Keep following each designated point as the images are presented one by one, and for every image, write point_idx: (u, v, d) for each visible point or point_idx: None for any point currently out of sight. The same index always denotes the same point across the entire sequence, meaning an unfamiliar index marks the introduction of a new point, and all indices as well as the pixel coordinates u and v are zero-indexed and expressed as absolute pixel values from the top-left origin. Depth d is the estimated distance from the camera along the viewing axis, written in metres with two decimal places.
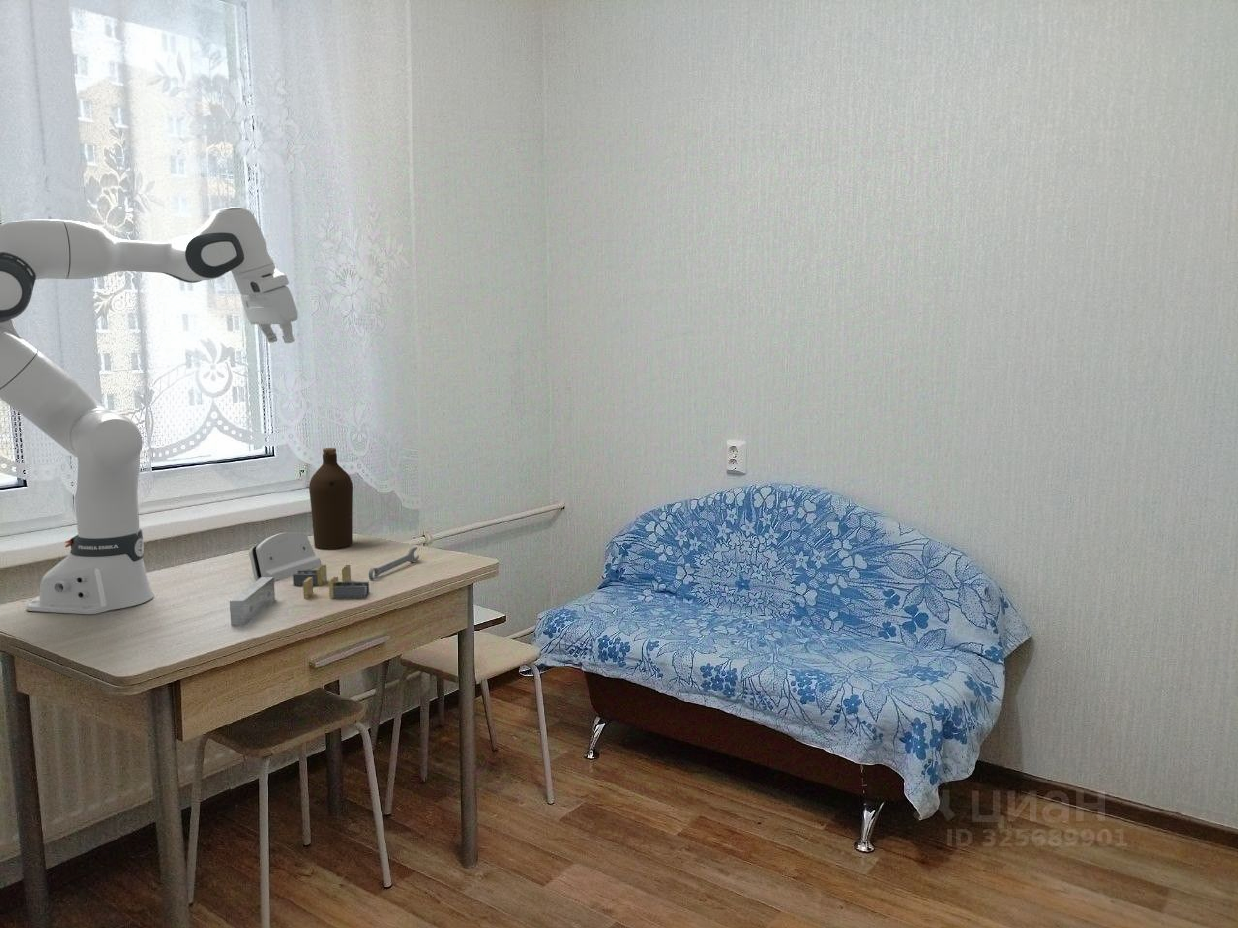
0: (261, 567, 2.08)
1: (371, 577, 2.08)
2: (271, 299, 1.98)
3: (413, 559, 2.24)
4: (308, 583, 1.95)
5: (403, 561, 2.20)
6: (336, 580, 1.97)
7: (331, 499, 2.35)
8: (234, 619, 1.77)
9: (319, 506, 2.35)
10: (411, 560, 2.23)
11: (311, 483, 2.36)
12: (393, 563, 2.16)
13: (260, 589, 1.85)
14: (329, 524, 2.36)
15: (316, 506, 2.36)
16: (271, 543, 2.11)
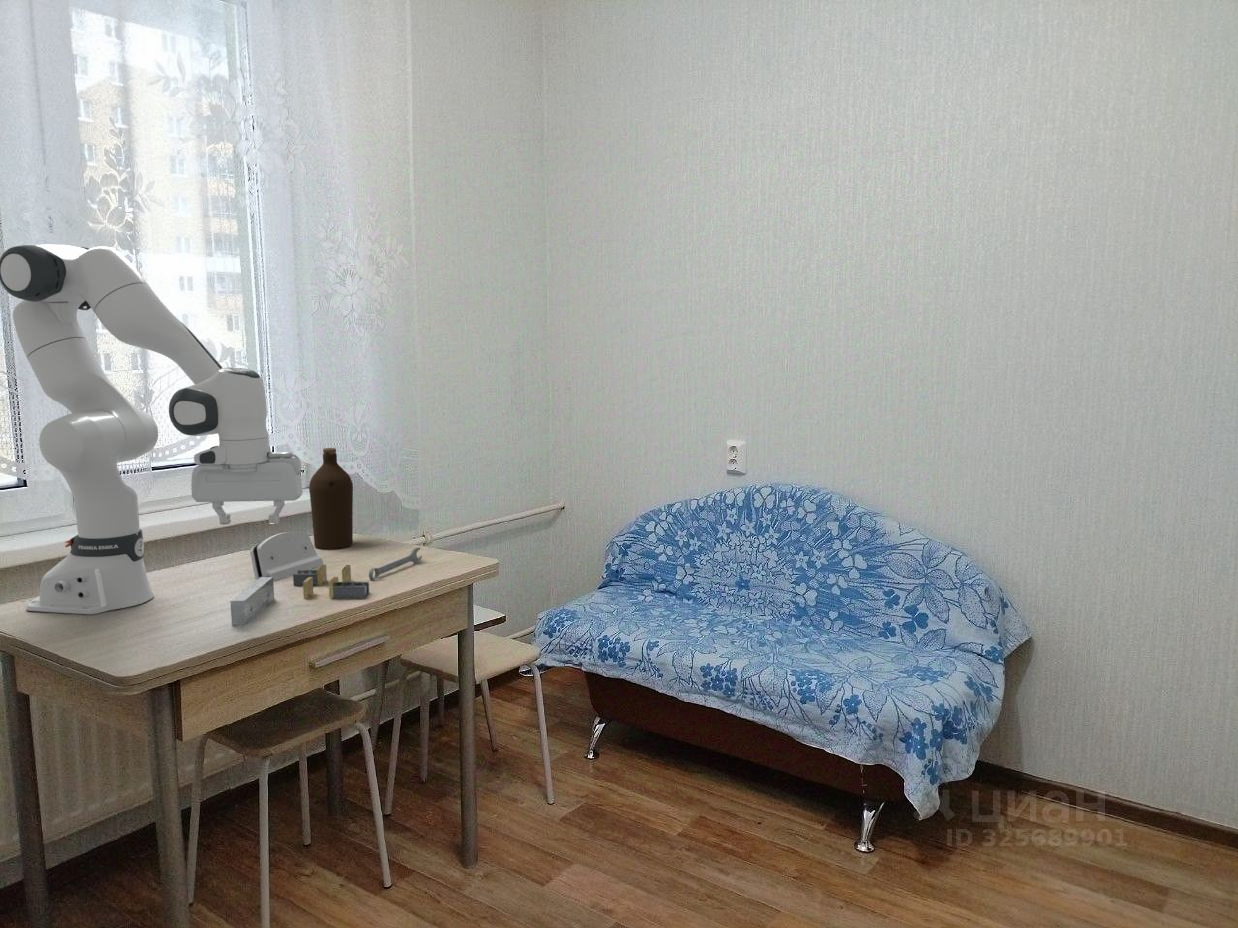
0: (262, 567, 2.08)
1: (371, 577, 2.08)
2: None
3: (416, 559, 2.24)
4: (308, 583, 1.95)
5: (405, 561, 2.20)
6: (336, 580, 1.97)
7: (331, 499, 2.35)
8: (235, 619, 1.77)
9: (319, 506, 2.35)
10: (413, 560, 2.23)
11: (311, 483, 2.36)
12: (394, 563, 2.16)
13: (260, 589, 1.85)
14: (329, 524, 2.36)
15: (316, 506, 2.36)
16: (272, 543, 2.12)
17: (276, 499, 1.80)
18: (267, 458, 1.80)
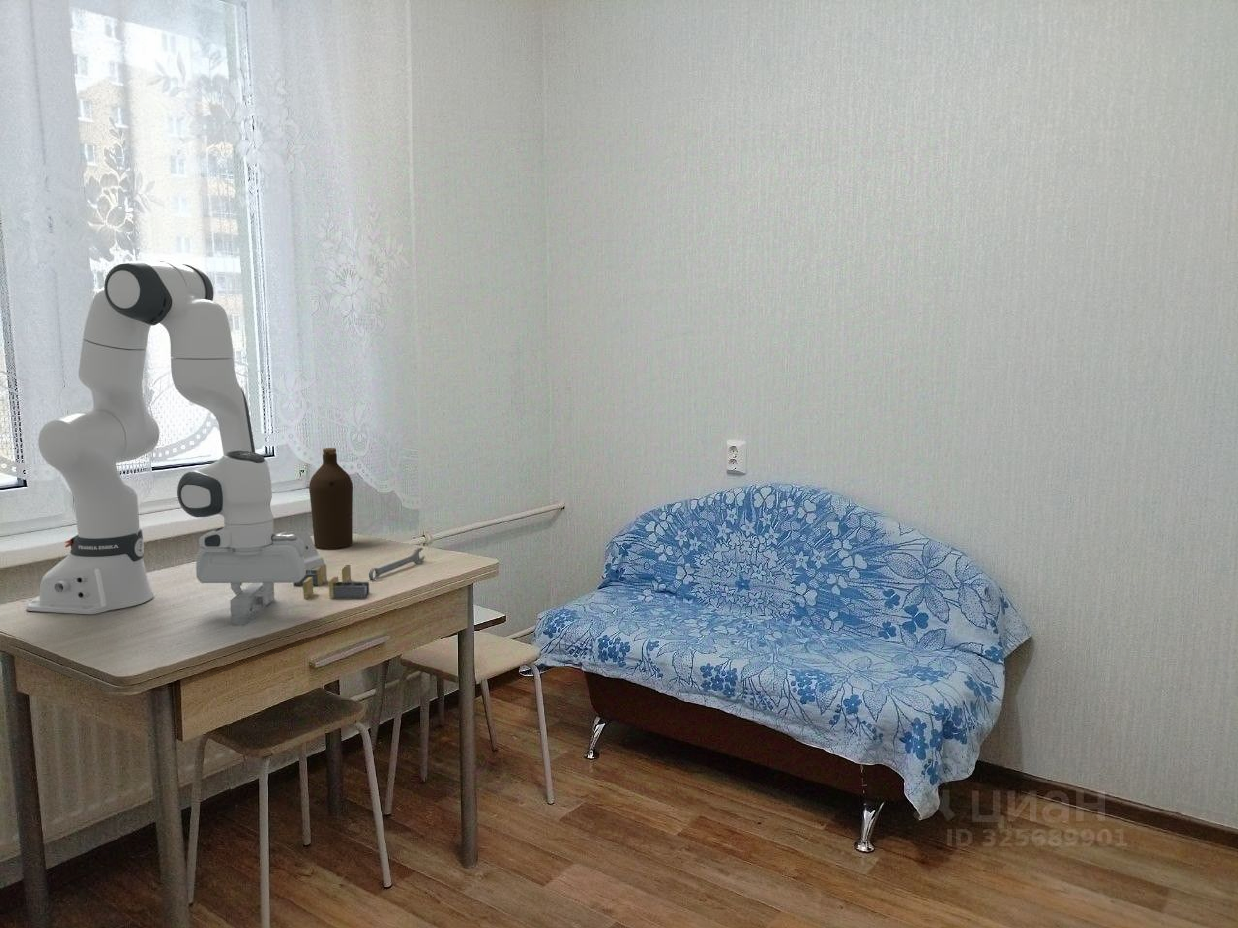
0: None
1: (371, 577, 2.08)
2: None
3: (418, 560, 2.23)
4: (308, 583, 1.95)
5: (407, 561, 2.20)
6: (336, 580, 1.97)
7: (331, 499, 2.35)
8: (235, 618, 1.77)
9: (319, 506, 2.35)
10: (416, 561, 2.23)
11: (311, 483, 2.36)
12: (396, 563, 2.16)
13: (260, 588, 1.85)
14: (329, 524, 2.36)
15: (316, 506, 2.36)
16: None
17: (280, 581, 1.83)
18: (271, 540, 1.83)
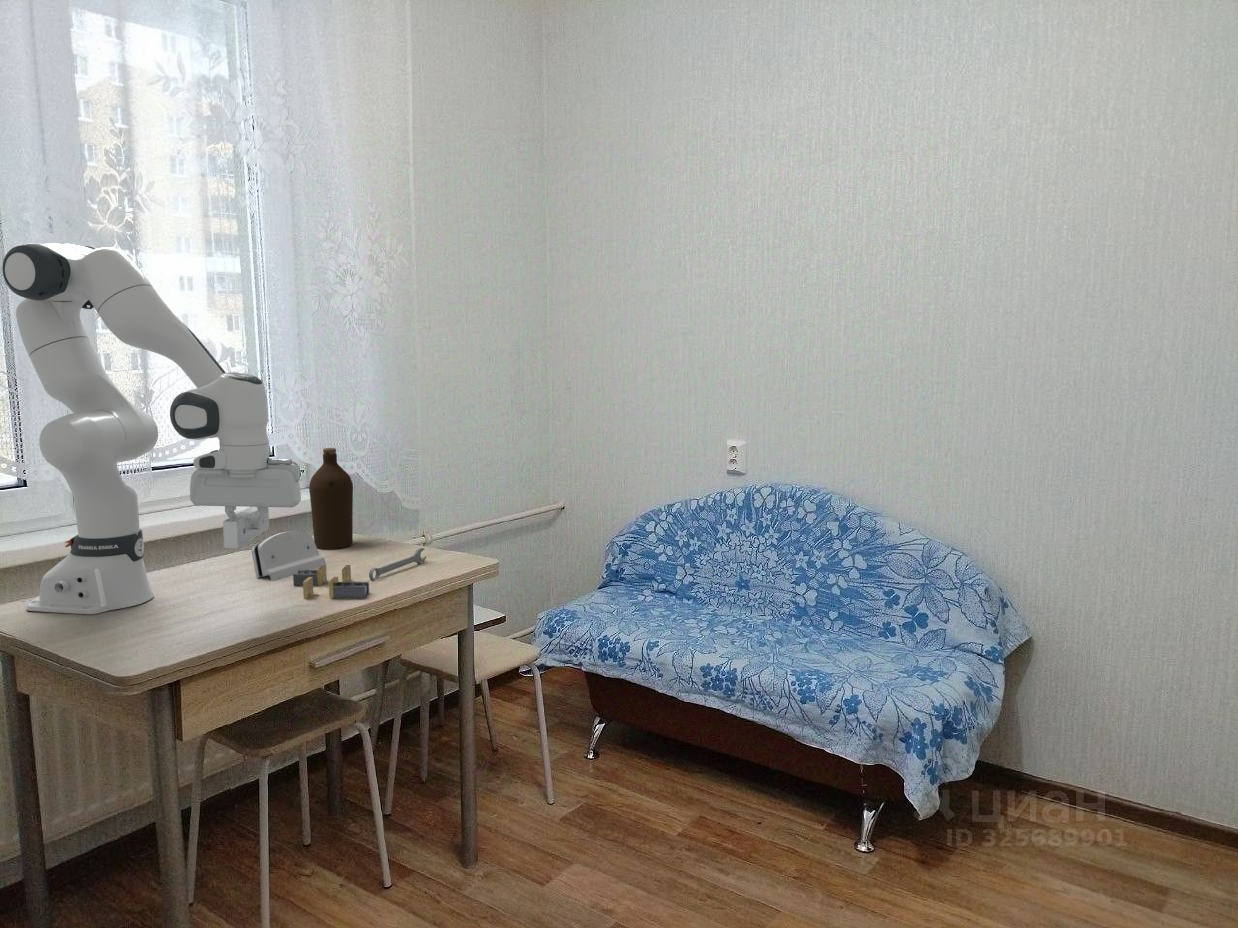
0: (262, 565, 2.09)
1: (371, 577, 2.08)
2: None
3: (419, 560, 2.23)
4: (308, 583, 1.95)
5: (408, 562, 2.19)
6: (336, 580, 1.97)
7: (331, 499, 2.35)
8: (227, 540, 1.75)
9: (319, 506, 2.35)
10: (417, 561, 2.22)
11: (311, 483, 2.36)
12: (396, 563, 2.16)
13: (254, 513, 1.83)
14: (329, 524, 2.36)
15: (316, 506, 2.36)
16: (273, 542, 2.12)
17: (274, 505, 1.81)
18: (267, 464, 1.81)
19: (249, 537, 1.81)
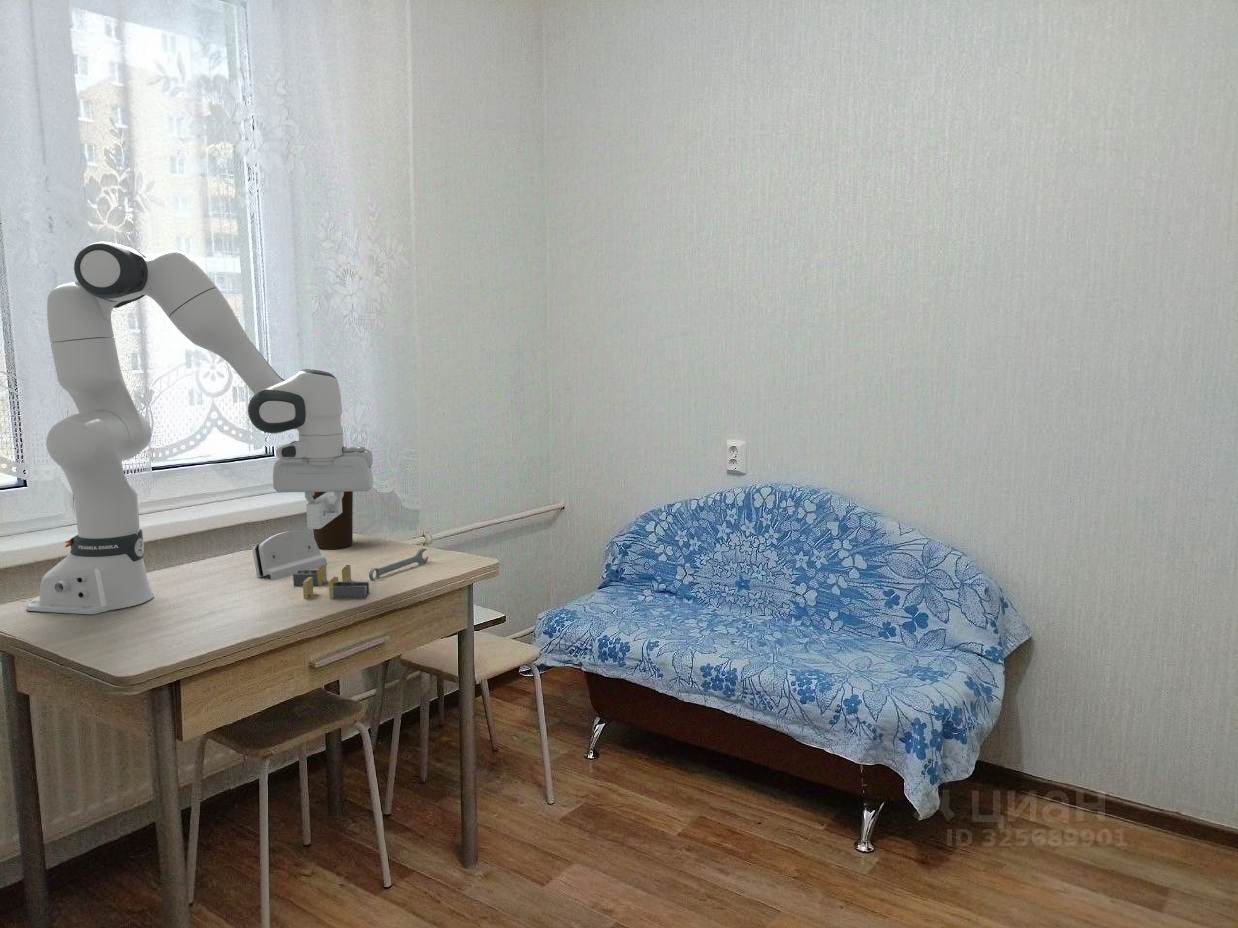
0: (263, 565, 2.10)
1: (371, 577, 2.08)
2: None
3: (421, 560, 2.23)
4: (308, 583, 1.95)
5: (409, 562, 2.19)
6: (336, 580, 1.97)
7: None
8: (310, 522, 1.90)
9: None
10: (419, 561, 2.22)
11: None
12: (397, 564, 2.16)
13: (331, 498, 1.99)
14: (329, 524, 2.36)
15: None
16: (274, 542, 2.13)
17: (350, 490, 1.97)
18: (342, 452, 1.97)
19: (328, 519, 1.97)
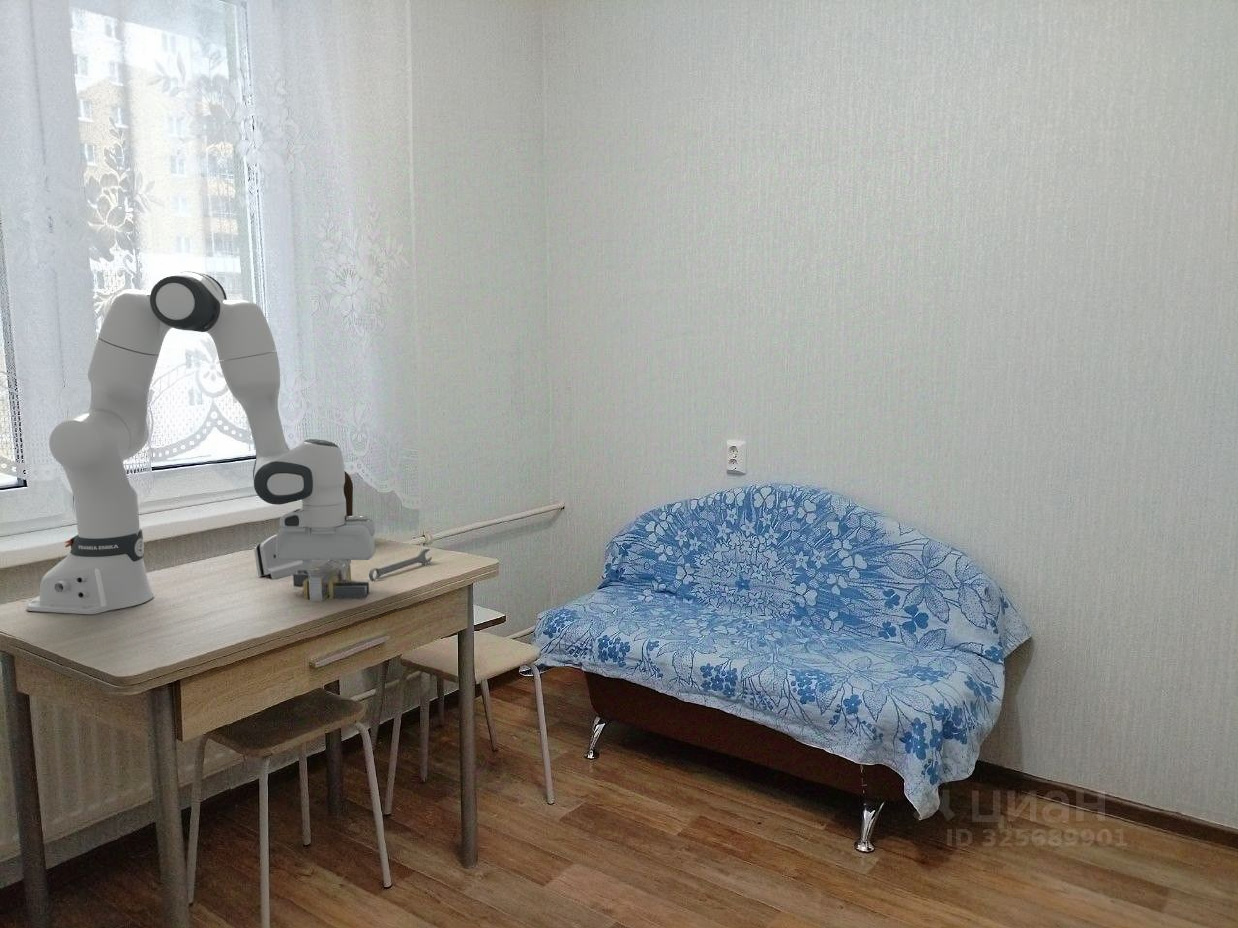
0: (264, 564, 2.10)
1: (371, 577, 2.08)
2: None
3: (424, 561, 2.22)
4: (308, 583, 1.95)
5: (411, 562, 2.19)
6: (336, 580, 1.97)
7: None
8: (312, 595, 1.93)
9: None
10: (422, 562, 2.22)
11: None
12: (399, 564, 2.15)
13: (333, 568, 2.01)
14: None
15: None
16: (275, 541, 2.13)
17: (352, 558, 1.99)
18: (345, 521, 1.99)
19: None
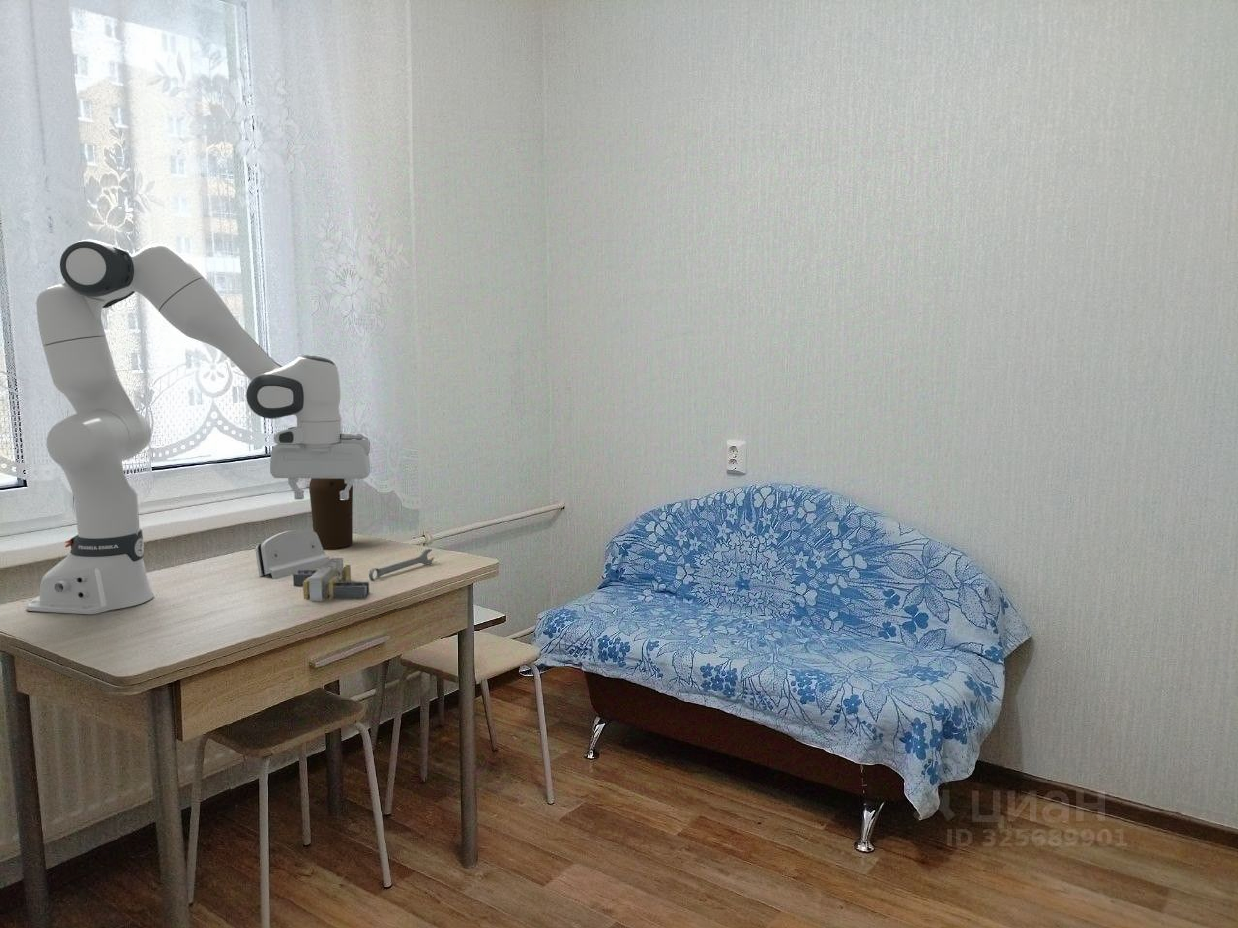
0: (265, 564, 2.11)
1: (371, 577, 2.08)
2: None
3: (426, 561, 2.22)
4: (308, 583, 1.95)
5: (413, 563, 2.19)
6: (336, 580, 1.97)
7: (331, 499, 2.35)
8: (313, 595, 1.93)
9: (319, 506, 2.35)
10: (423, 562, 2.21)
11: (311, 483, 2.36)
12: (400, 564, 2.15)
13: (333, 568, 2.01)
14: (329, 524, 2.36)
15: (316, 506, 2.36)
16: (276, 541, 2.14)
17: (347, 477, 1.96)
18: (340, 439, 1.96)
19: None
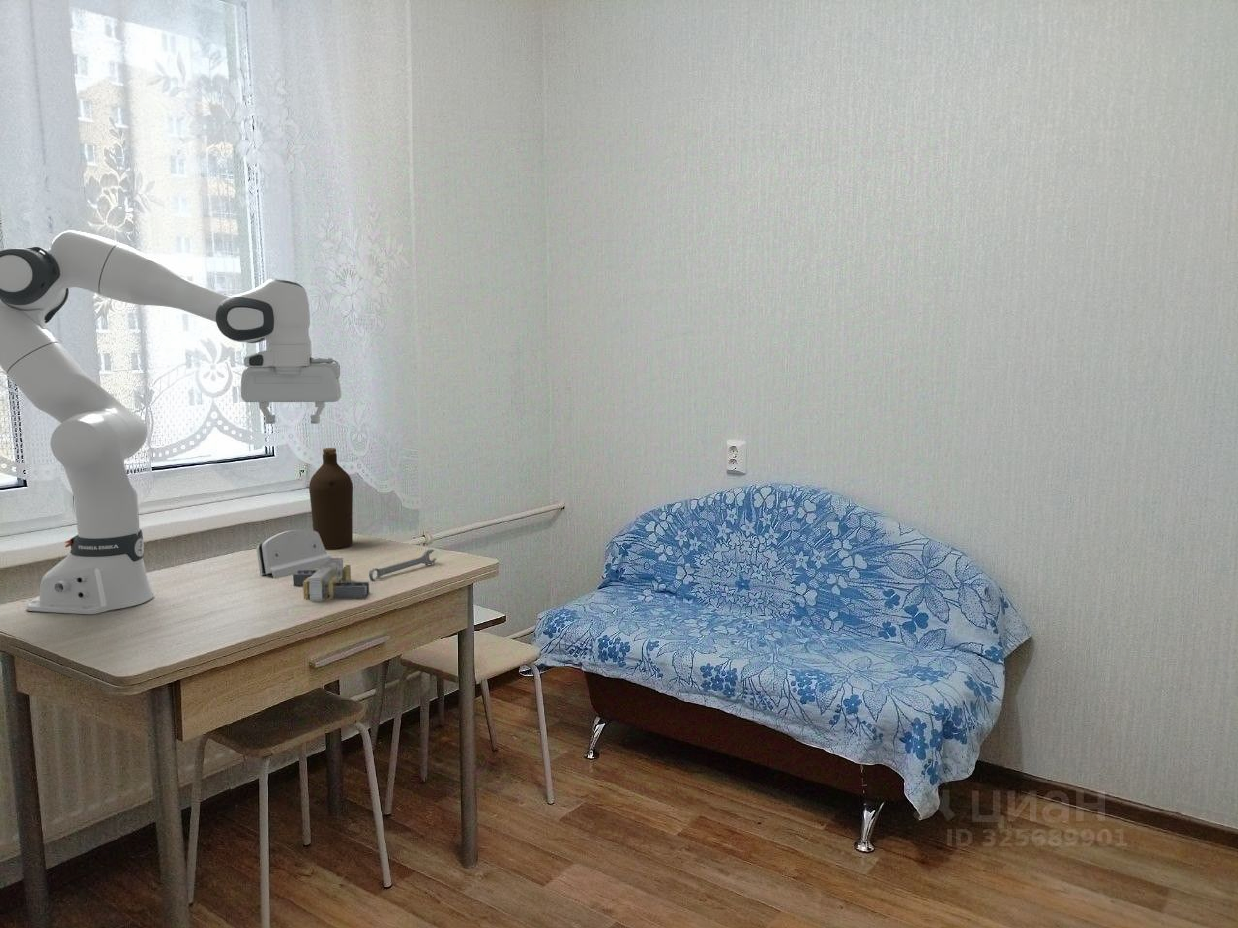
0: (265, 563, 2.11)
1: (371, 577, 2.08)
2: None
3: (428, 561, 2.22)
4: (308, 583, 1.95)
5: (414, 563, 2.18)
6: (336, 580, 1.97)
7: (331, 499, 2.35)
8: (313, 595, 1.93)
9: (319, 506, 2.35)
10: (425, 562, 2.21)
11: (311, 483, 2.36)
12: (401, 564, 2.15)
13: (333, 568, 2.01)
14: (329, 524, 2.36)
15: (316, 506, 2.36)
16: (277, 540, 2.14)
17: (318, 400, 1.98)
18: (310, 363, 1.98)
19: None
